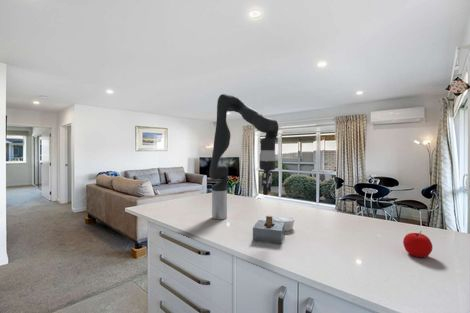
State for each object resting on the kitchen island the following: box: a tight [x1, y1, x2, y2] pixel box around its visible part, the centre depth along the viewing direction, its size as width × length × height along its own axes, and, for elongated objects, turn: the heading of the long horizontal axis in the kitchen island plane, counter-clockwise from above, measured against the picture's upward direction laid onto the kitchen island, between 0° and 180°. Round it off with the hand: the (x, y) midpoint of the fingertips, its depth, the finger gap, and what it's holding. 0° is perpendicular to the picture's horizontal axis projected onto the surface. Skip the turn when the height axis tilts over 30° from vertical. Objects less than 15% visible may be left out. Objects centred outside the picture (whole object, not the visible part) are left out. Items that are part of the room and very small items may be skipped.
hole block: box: [252, 219, 285, 245], centre depth 110 cm, size 13×13×6 cm
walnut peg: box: [265, 215, 273, 227], centre depth 111 cm, size 3×3×10 cm
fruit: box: [402, 230, 433, 258], centre depth 91 cm, size 9×9×10 cm
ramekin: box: [272, 215, 295, 232], centre depth 124 cm, size 11×11×5 cm
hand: (267, 193), depth 112 cm, fingers open, 8 cm apart
